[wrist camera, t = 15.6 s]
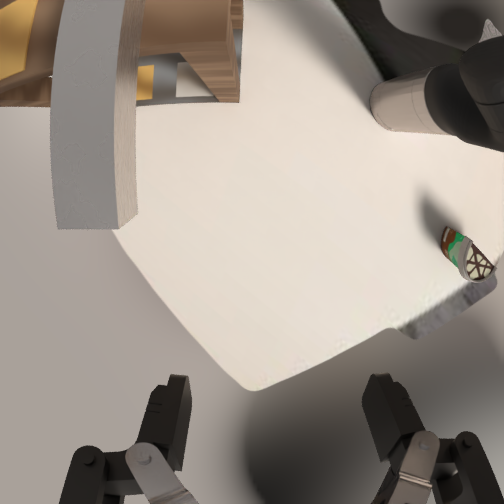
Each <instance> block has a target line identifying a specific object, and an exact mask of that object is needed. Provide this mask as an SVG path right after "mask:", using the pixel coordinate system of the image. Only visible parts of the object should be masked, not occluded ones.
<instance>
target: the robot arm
mask: <svg viewBox="0 0 504 504" xmlns="http://www.w3.org/2000/svg"><path fill="white" fill-rule="evenodd" d="M370 106H371V111H372V114H373V116H374V118H375V119H376V121H377V122H378V123H379V124H380V125H381V126H382V127H384V128H385V129H387V130H390V131H395V132H412V133H428V134H440V135H452V136H457V137H458V138H459V139H461V140H462V141H464V142H466V143H469V144H473V145H477V146H481V147H485V148H489V149H493V150H496V151H500V152H504V36H498V37H494V38H490V39H487V40H484V41H482V42H479V43H477V44H476V45H474V46H472V47H471V48H469V49H468V50H467V51H466V52H465V53H464V54H463V55H462V57H461V59H460V62H459V64H453V63H450V64H444V65H440V66H436V67H432V68H428V69H425V70H419V71H416V72H412V73H409V74H405V75H402V76H399V77H396V78H394V79H391V80H388V81H385V82H382V83H380V84H378V85H377V86H376V87H375V88H374V90H373V92H372V94H371V98H370ZM362 407H363V410H364V413H365V416H366V419H367V422H368V425H369V428H370V431H371V434H372V437H373V439H374V443H375V446H376V449H377V452H378V455H379V458H380V462H381V463H383V462H387V461H390V464H391V466H390V467H389V469H388V471H387V473H386V475H385V478H384V479H383V482H382V484H381V486H380V488H379V490H378V492H377V494H376V496H375V497H374V499H373V501H372V502H371V503H370V504H426V503H427V500H428V498H429V495H430V492H431V489H432V491H433V494H434V497H435V501H436V504H504V498H503V496H502V493H501V491H500V488H499V485H498V483H497V480H496V478H495V475H494V473H493V470H492V468H491V465H490V463H489V461H488V459H487V456H486V454H485V452H484V450H483V447H482V445H481V443H480V441H479V439H478V437H477V436H476V435H475V434H473V433H472V432H468V431H464V432H461V433H460V434H458V436H457V437H456V438H455V439H440V438H438V437H437V436H436V435H435V434H434V433H432V432H430V431H426V430H425V428H424V426H423V424H422V422H421V419H420V417H419V415H418V413H417V411H416V409H415V407H414V406H413V403H412V401H411V399H410V398H409V395H408V393H407V391H406V389H405V388H404V387H403V386H402V385H401V384H400V383H399V382H393V380H392V378H391V376H390V374H389V373H387V372H384V373H376V374H372V375H371V376H370V379H369V381H368V384H367V386H366V389H365V391H364V393H363V396H362ZM191 410H192V397H191V390H190V383H189V377H188V376H185V375H174V374H171V375H170V377H169V381H168V384H167V386H165V385H158V386H157V387H156V388H155V389H154V390H153V391H152V392H151V395H150V398H149V402H148V405H147V408H146V412H145V414H144V418H143V421H142V424H141V428H140V431H139V435H138V438H137V441H136V442H135V444H134V445H132V446H131V447H130V448H129V449H127V450H125V451H120V452H106V453H105V452H104V453H103V452H102V451H101V450H100V449H99V448H97V447H94V446H83V447H81V448H79V449H77V450H76V451H75V453H74V455H73V457H72V461H71V464H70V467H69V470H68V473H67V477H66V480H65V484H64V487H63V491H62V494H61V498H60V502H59V504H124V497H125V495H136V494H145V496H146V498H147V499H148V501H149V503H150V504H199V503H198V502H197V501H196V499H195V498H194V497H193V495H192V494H191V493H190V492H189V491H188V490H186V488H185V487H184V486H183V485H182V483H181V482H180V480H179V479H178V478H177V476H176V475H175V473H174V472H175V470H176V471H182V466H183V459H184V453H185V447H186V439H187V434H188V428H189V422H190V416H191ZM429 481H430V483H429Z"/></svg>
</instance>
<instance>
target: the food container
mask: <svg viewBox="0 0 504 504" xmlns="http://www.w3.org/2000/svg"><path fill="white" fill-rule="evenodd" d="M441 248H442V252H443V254H444V255H445V256H446V257H447V258H448V259H449V260H450V261H451V262H452V263H453V264H454V265H455V266H456V267H457V268H458V269H459V272H460V274H461V276H462V277H463V278H464V279H466V280H468V281H471V282H476V283H479V282H483V281H485V280H487V279H488V278H490V277H491V276H492V275H493V274H494V272H495V271H496V269H497V268H496V267H495V266H493V265H492V264H491V263H490V261H489V260H488V259H487V258H486V257H485V255H484V254H483V253H482V252H481V251H480V250H479V249H478V248H477V247H476V246H475V245H474V244H473V241H472V240H471V239H469V238H468V237H466V236H463V235H462V234H460V233H458V232H456V231H454V230H452V229H450V228H449V227H447V226H446V228H445V230H444V232H443V235H442V239H441Z"/></svg>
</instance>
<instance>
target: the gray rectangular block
mask: <svg viewBox="0 0 504 504" xmlns="http://www.w3.org/2000/svg"><path fill="white" fill-rule="evenodd" d="M145 1H146V0H65V2H64V6H63V10H62V15H61V20H60V25H59V31H58V37H57V43H56V50H55V58H54V67H53V77H52V90H51V110H50V111H51V112H50V147H51V148H50V149H51V171H52V184H53V195H54V205H55V212H56V219H57V227H58V229H120V228H121V227H122V226H124V225H125V224H126V223H127V222H129V221H130V220H131V219H132V218H134V217H135V216H136V215H137V214H138V205H137V186H136V149H135V130H136V93H137V75H138V61H139V50H140V40H141V31H142V23H143V15H144V8H145Z"/></svg>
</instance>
